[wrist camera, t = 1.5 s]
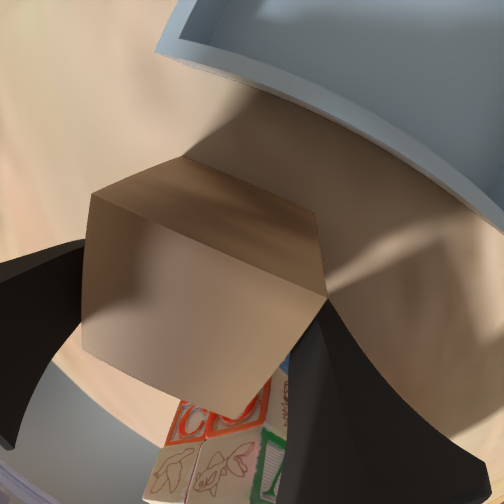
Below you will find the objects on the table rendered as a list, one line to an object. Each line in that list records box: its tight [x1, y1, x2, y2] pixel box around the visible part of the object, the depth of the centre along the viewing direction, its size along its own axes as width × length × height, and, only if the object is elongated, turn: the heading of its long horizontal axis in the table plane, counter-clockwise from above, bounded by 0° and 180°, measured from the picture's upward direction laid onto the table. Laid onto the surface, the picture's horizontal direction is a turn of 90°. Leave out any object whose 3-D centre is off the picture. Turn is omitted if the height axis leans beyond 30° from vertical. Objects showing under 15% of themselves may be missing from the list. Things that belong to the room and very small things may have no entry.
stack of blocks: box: [142, 352, 290, 504], centre depth 12 cm, size 21×6×12 cm, turn 40°
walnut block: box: [81, 156, 328, 420], centre depth 10 cm, size 6×6×6 cm
